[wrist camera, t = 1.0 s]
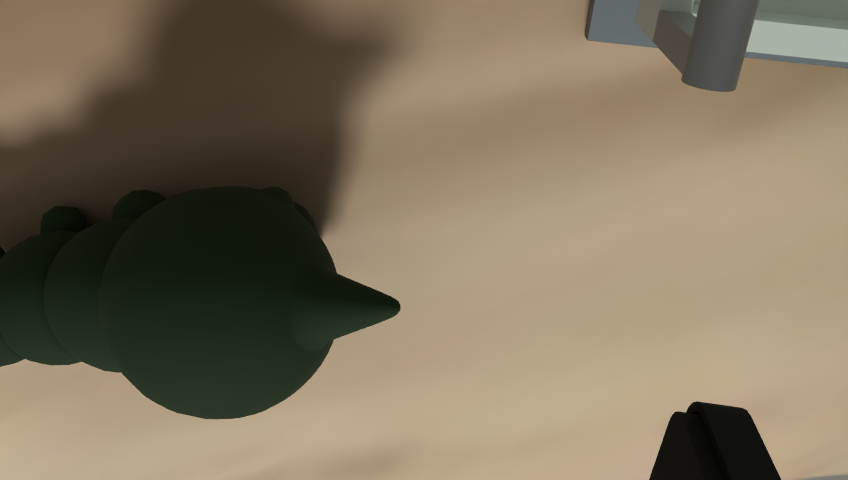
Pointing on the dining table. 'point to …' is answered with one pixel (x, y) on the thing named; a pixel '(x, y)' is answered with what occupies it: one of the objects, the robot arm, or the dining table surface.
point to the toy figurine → (185, 298)
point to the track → (617, 25)
